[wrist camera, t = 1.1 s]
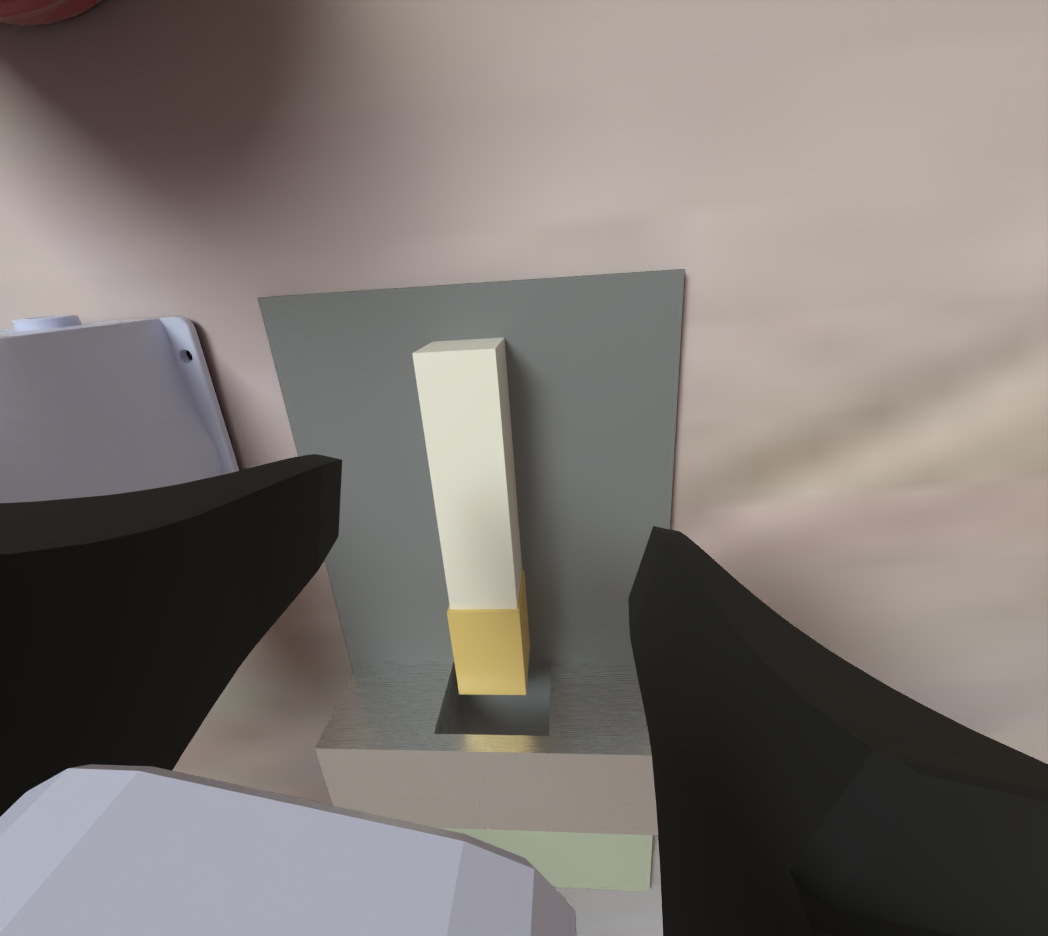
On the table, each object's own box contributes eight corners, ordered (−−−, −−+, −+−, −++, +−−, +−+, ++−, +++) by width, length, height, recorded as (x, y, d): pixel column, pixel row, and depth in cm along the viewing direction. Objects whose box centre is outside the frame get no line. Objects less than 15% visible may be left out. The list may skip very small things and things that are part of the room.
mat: (263, 297, 19) (257, 297, 19) (681, 269, 18) (684, 269, 17) (408, 873, 33) (406, 880, 32) (648, 884, 31) (649, 891, 31)
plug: (430, 341, 19) (407, 354, 16) (506, 337, 18) (497, 349, 16) (472, 661, 25) (461, 710, 22) (531, 661, 24) (527, 711, 22)
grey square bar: (359, 661, 25) (314, 748, 21) (652, 662, 24) (673, 755, 19) (376, 730, 27) (339, 824, 23) (648, 734, 26) (667, 835, 21)
